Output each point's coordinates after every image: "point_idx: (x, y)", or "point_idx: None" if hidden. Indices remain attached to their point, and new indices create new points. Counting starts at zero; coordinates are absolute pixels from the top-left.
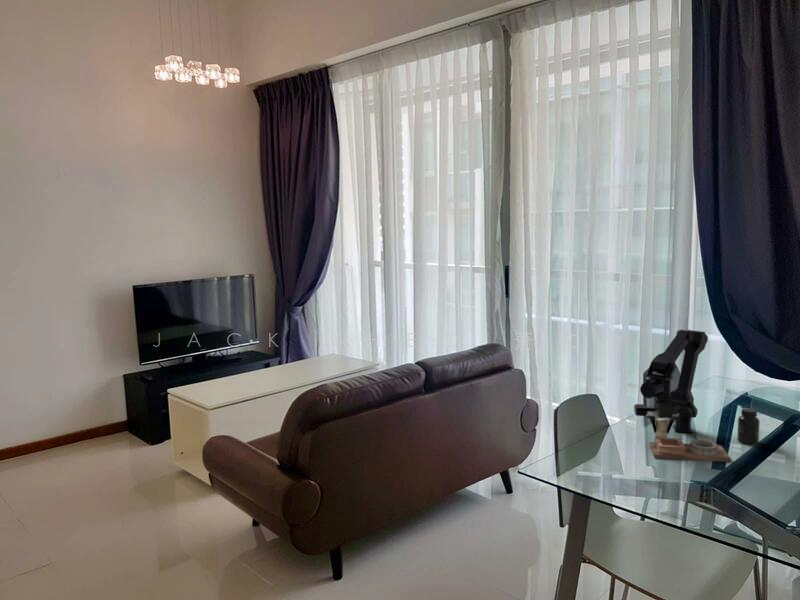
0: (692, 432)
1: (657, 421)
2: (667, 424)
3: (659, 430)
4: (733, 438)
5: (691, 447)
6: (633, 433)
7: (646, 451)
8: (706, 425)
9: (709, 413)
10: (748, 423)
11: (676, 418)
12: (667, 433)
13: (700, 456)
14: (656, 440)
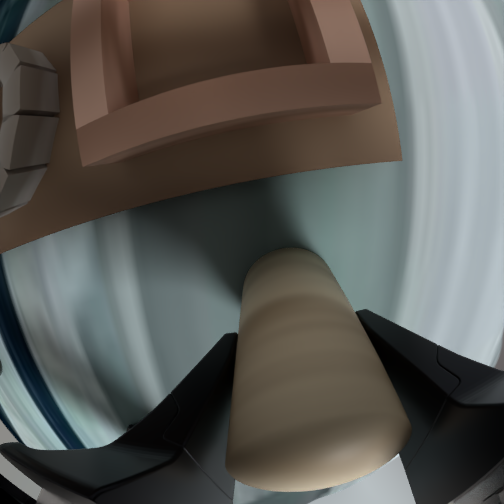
0: (130, 425)
1: (402, 412)
2: None
3: (334, 310)
4: (14, 373)
5: (38, 68)
6: None
7: (390, 30)
8: None
9: None
10: None
11: (16, 453)
12: (235, 333)
13: (33, 26)
14: (356, 20)
